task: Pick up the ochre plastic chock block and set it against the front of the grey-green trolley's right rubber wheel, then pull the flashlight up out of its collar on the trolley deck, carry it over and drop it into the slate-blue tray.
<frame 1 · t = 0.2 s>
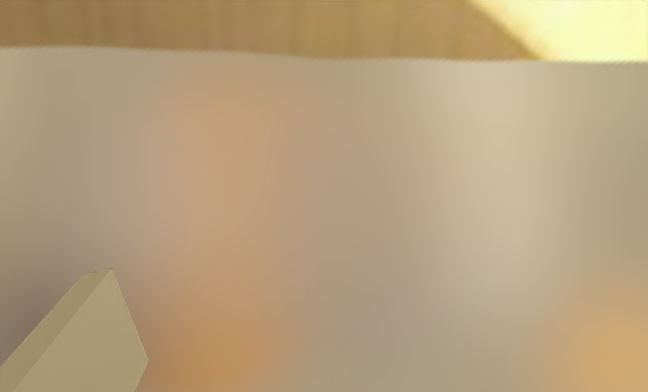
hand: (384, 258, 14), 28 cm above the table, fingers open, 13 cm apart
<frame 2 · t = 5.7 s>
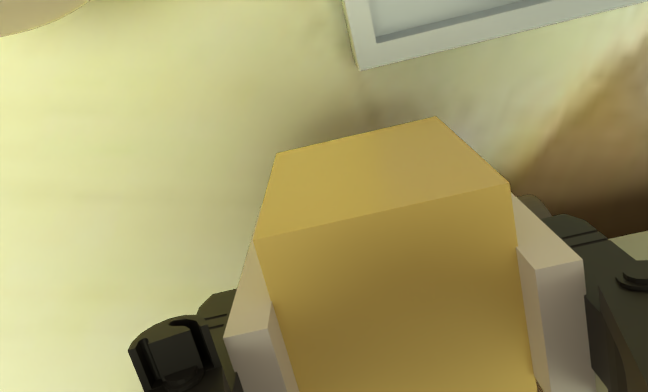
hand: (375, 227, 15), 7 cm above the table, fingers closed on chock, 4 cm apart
trolley: (625, 292, 24), on the table
chock: (373, 215, 16), point 6 cm above the table, touching gripper
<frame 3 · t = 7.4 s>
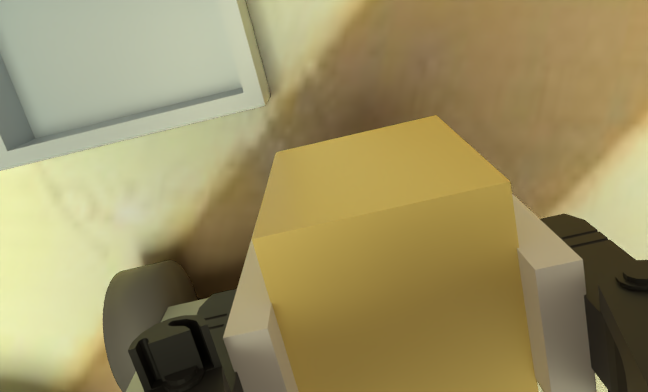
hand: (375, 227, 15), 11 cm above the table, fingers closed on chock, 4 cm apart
tray: (122, 43, 24), on the table
trolley: (291, 335, 29), on the table
chock: (373, 215, 16), point 11 cm above the table, touching gripper
when the fingers open (0 cm above the table, at t = 9.2 s): chock stays where it is, on the table.
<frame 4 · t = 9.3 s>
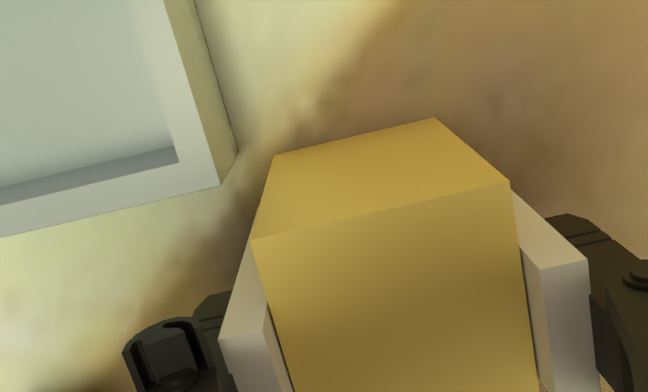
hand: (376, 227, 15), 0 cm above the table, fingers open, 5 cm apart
chock: (371, 218, 16), on the table
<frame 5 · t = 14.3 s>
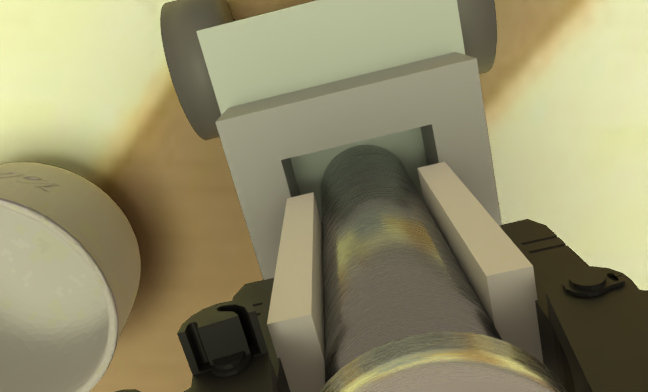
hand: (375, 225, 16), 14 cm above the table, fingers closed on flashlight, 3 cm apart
trolley: (343, 105, 28), on the table
flashlight: (365, 187, 19), point 10 cm above the table, touching gripper, trolley
teacup: (39, 253, 31), on the table
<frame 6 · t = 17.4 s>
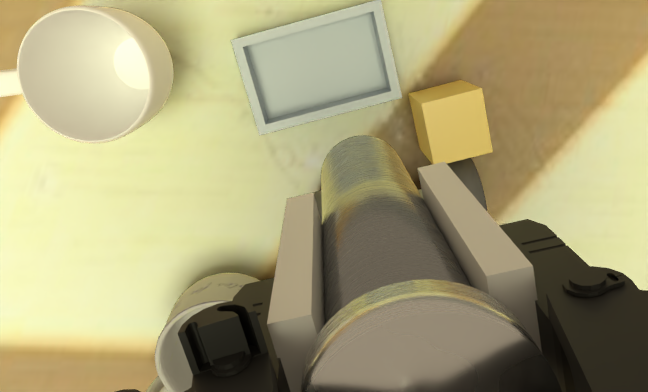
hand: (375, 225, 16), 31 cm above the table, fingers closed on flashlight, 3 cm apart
tray: (317, 66, 45), on the table
trolley: (402, 234, 49), on the table
flashlight: (362, 176, 20), point 26 cm above the table, touching gripper
teacup: (221, 319, 52), on the table
mug: (118, 65, 45), on the table
chock: (439, 114, 46), on the table
when the fingers open (7 cm above the table, at t = 20.7 s): flashlight stays where it is, resting on tray.
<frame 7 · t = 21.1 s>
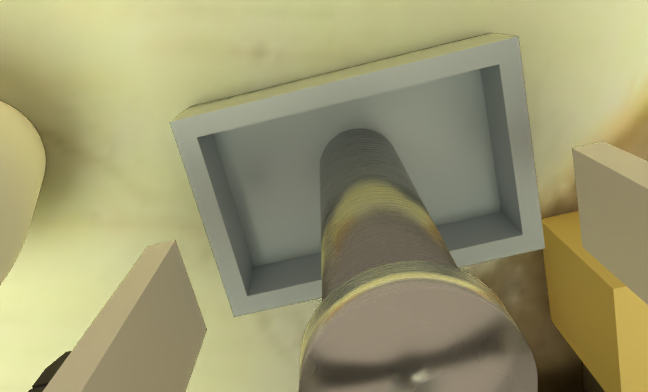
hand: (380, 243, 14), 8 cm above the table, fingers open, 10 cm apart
tray: (358, 164, 22), on the table
flashlight: (359, 167, 21), point 1 cm above the table, touching tray
chock: (597, 260, 23), on the table
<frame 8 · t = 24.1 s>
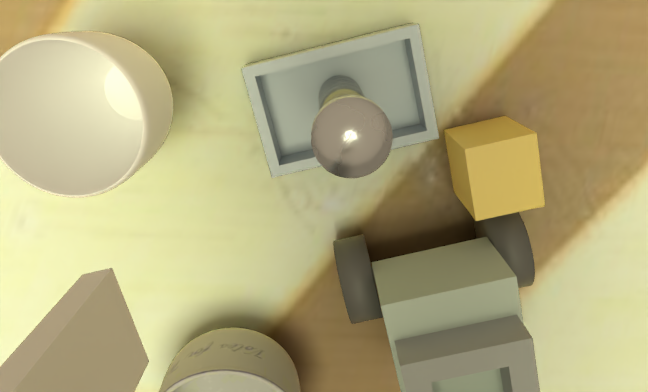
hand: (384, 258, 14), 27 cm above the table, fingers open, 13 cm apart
tray: (340, 97, 39), on the table
trolley: (430, 286, 44), on the table
flashlight: (340, 97, 38), point 1 cm above the table, touching tray
teacup: (223, 374, 46), on the table
mug: (109, 91, 39), on the table
chock: (478, 154, 40), on the table
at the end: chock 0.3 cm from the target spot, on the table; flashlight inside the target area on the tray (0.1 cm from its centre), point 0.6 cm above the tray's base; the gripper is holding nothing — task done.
